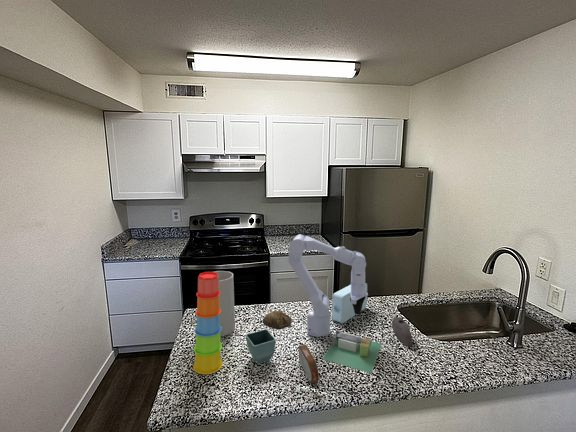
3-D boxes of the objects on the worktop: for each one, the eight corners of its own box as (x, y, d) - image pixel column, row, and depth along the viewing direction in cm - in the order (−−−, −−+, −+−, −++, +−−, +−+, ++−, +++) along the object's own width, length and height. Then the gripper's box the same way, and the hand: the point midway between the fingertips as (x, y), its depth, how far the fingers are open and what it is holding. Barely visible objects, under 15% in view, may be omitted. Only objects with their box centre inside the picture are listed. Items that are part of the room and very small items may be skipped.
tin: (319, 388, 100) (320, 364, 99) (310, 389, 99) (310, 366, 98) (305, 360, 115) (305, 339, 113) (296, 361, 114) (296, 340, 112)
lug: (359, 355, 115) (360, 344, 115) (363, 348, 120) (363, 337, 120) (367, 358, 114) (368, 346, 113) (370, 350, 119) (371, 339, 118)
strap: (332, 339, 123) (332, 335, 123) (335, 334, 127) (335, 331, 126) (369, 347, 116) (369, 344, 116) (371, 342, 120) (372, 338, 120)
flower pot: (254, 369, 110) (253, 346, 108) (245, 356, 117) (245, 334, 116) (276, 362, 114) (276, 339, 112) (267, 349, 121) (266, 328, 120)
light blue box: (342, 325, 140) (343, 297, 138) (332, 320, 144) (332, 293, 142) (367, 308, 157) (368, 283, 154) (357, 304, 161) (358, 280, 158)
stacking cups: (206, 354, 118) (202, 268, 113) (228, 361, 114) (224, 272, 108) (187, 370, 109) (181, 277, 104) (210, 378, 105) (205, 282, 99)
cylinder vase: (240, 326, 139) (239, 273, 135) (222, 340, 128) (220, 283, 124) (219, 320, 145) (216, 269, 141) (200, 333, 134) (197, 278, 130)
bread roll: (259, 321, 144) (259, 311, 143) (279, 313, 152) (279, 303, 151) (277, 332, 135) (276, 321, 134) (297, 322, 143) (297, 312, 142)
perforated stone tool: (416, 350, 120) (417, 334, 119) (402, 350, 120) (403, 334, 119) (402, 330, 135) (403, 315, 134) (390, 330, 135) (391, 315, 134)
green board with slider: (322, 360, 114) (322, 349, 113) (338, 334, 132) (338, 325, 131) (371, 375, 106) (371, 363, 105) (381, 345, 124) (382, 335, 123)
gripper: (363, 290, 118) (363, 323, 120) (371, 278, 131) (370, 308, 133) (345, 287, 121) (345, 319, 123) (355, 275, 134) (354, 305, 136)
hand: (357, 313), depth 129 cm, fingers closed
